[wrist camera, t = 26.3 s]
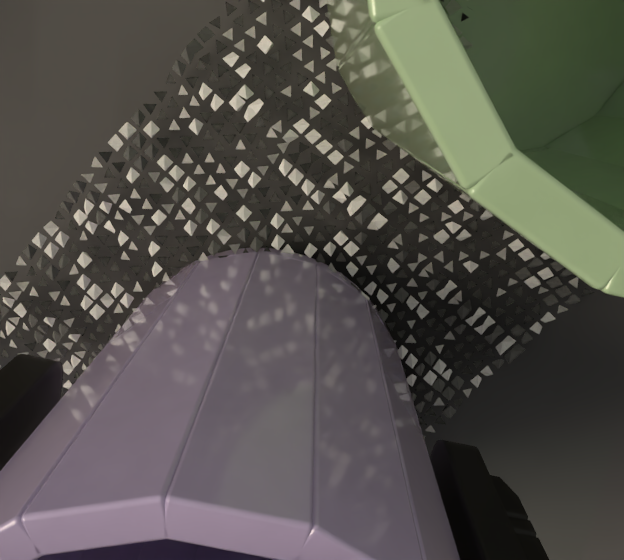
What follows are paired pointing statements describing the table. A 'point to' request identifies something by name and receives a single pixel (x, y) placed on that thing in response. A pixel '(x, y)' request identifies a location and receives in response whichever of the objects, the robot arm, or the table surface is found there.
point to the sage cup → (504, 111)
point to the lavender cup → (233, 431)
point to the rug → (278, 220)
